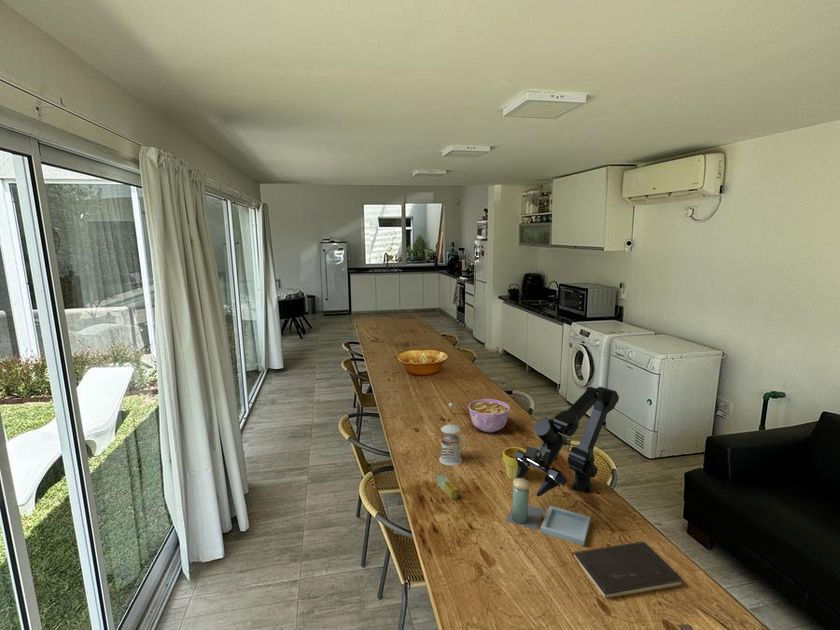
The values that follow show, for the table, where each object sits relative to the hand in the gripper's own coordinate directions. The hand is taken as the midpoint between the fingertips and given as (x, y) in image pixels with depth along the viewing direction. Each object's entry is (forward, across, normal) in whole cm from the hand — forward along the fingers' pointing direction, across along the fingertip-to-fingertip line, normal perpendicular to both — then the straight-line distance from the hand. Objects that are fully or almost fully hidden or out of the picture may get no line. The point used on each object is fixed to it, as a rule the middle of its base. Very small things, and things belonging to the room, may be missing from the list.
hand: (526, 489), depth 145 cm
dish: (+3, +11, +12) cm, 16 cm away
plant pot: (-4, -20, +19) cm, 28 cm away
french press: (+4, -44, +10) cm, 45 cm away
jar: (+9, 0, +5) cm, 10 cm away
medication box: (+16, -28, -1) cm, 32 cm away
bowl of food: (-20, -58, +34) cm, 69 cm away
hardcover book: (+4, +32, +11) cm, 34 cm away
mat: (+7, 0, +8) cm, 10 cm away
